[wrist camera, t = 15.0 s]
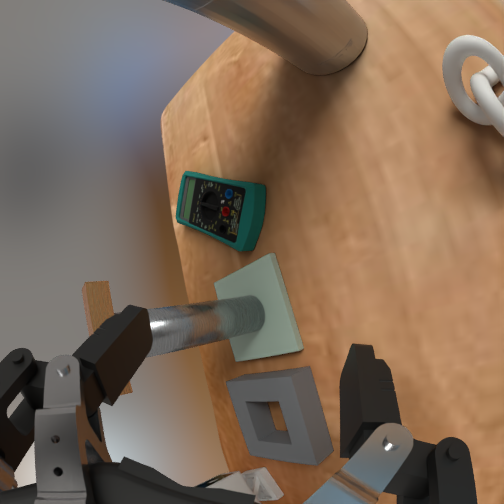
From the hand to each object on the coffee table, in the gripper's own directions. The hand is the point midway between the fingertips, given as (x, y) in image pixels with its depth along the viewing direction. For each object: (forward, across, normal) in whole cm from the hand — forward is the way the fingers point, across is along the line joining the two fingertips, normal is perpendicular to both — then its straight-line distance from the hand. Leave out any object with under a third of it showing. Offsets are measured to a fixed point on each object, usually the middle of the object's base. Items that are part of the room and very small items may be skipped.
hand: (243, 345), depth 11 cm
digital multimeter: (+26, +8, +2) cm, 27 cm away
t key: (+18, +2, +11) cm, 21 cm away
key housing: (+12, -3, +20) cm, 23 cm away
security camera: (+9, -2, +35) cm, 36 cm away
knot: (+12, -16, -13) cm, 24 cm away
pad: (+18, +2, +11) cm, 21 cm away
